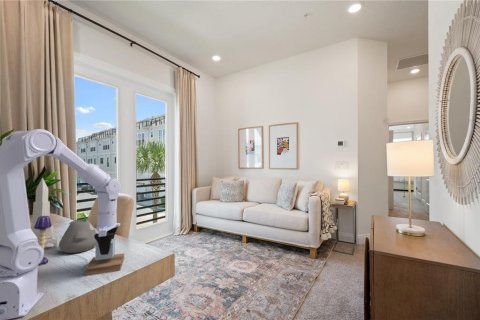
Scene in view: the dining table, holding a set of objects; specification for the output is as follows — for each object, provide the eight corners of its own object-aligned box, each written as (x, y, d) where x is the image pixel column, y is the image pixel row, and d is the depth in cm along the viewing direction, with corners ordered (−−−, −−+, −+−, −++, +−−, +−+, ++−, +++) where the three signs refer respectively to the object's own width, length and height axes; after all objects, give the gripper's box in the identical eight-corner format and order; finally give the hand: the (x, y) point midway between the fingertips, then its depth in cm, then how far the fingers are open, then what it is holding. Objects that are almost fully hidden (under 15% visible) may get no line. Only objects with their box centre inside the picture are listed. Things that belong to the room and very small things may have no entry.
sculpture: (39, 253, 86) (41, 177, 87) (23, 251, 88) (25, 177, 89) (56, 246, 93) (58, 177, 94) (41, 245, 95) (43, 176, 96)
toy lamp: (49, 259, 81) (50, 214, 81) (51, 262, 78) (53, 216, 78) (31, 263, 77) (32, 216, 77) (33, 267, 74) (35, 218, 74)
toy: (101, 249, 91) (102, 213, 91) (60, 258, 81) (61, 218, 82) (94, 240, 101) (95, 208, 102) (57, 248, 92) (58, 212, 93)
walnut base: (120, 271, 72) (120, 264, 72) (84, 277, 69) (84, 269, 69) (124, 260, 82) (124, 253, 82) (92, 264, 78) (92, 257, 78)
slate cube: (112, 257, 74) (112, 243, 74) (95, 260, 72) (95, 245, 72) (115, 252, 78) (115, 238, 78) (98, 254, 76) (99, 240, 77)
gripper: (116, 215, 70) (116, 257, 70) (123, 207, 84) (122, 243, 83) (91, 217, 68) (90, 261, 67) (102, 208, 81) (101, 245, 81)
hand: (106, 251), depth 75 cm, fingers closed on slate cube, 5 cm apart
